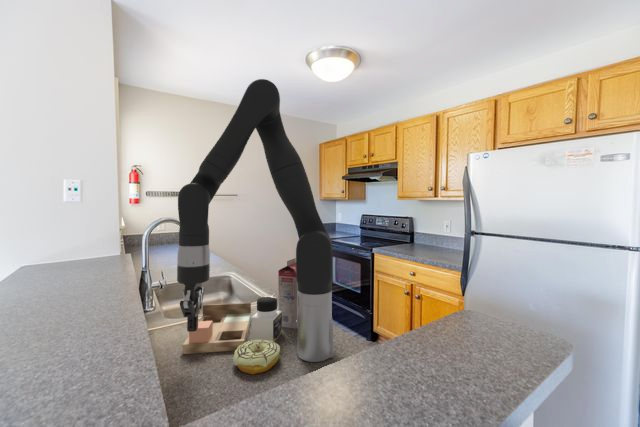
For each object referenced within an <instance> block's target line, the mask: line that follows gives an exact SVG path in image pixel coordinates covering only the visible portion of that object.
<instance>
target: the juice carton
mask: <svg viewBox="0 0 640 427" xmlns="http://www.w3.org/2000/svg"><path fill="white" fill-rule="evenodd" d="M277 275H278V276H277V278H278V283H277V284H278V288H277V290H278V297H277V298H278V306H277V311H282V328H287V329H295V330H298V283H297V279H296V257H295V258H292V259H289V260H287V261H286V265H285V266H284V267H282V268H280V269H279V270H278V274H277ZM296 320H297V322H296Z"/></svg>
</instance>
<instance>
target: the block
mask: <svg viewBox="0 0 640 427" xmlns="http://www.w3.org/2000/svg"><path fill="white" fill-rule="evenodd" d="M212 334H213V321H199V320H198V328H197V330H196V331H194V332H188V336H189V344H190V343H205V342H209V340H210V338H211V336H212Z"/></svg>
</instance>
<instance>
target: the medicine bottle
mask: <svg viewBox="0 0 640 427" xmlns="http://www.w3.org/2000/svg"><path fill="white" fill-rule="evenodd" d="M250 327H251V328H250V331H251V333H250V336H251V337H250V339H251V340H259V339H261V340H270V341H273V342H275V343H276V340H278V338H279V337H280V336H281V334H282V332H283V330H282V328H283V327H282V311H278V306H277V299H276V298H275V297H272V295H265V296H261V297H259V298H257V300H256V312H255V314H253V315H252V316H251V321H250ZM251 340H250V341H251Z"/></svg>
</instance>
